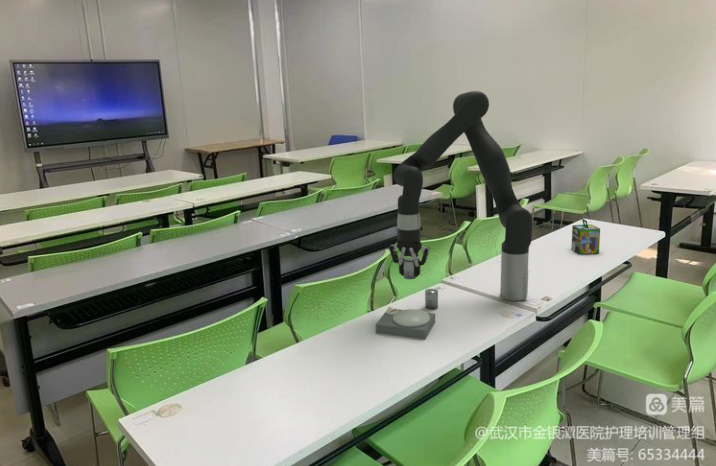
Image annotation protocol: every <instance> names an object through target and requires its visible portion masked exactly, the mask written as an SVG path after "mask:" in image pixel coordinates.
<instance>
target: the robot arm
mask: <svg viewBox="0 0 716 466" xmlns="http://www.w3.org/2000/svg"><path fill="white" fill-rule="evenodd" d="M489 101H490V100H489V97H488V96H487V95H486V94H485V93H484V92H482V91H480V90H473V91H468V92H463V93H460V94H459V95H457V96H456V97H455V98H454V100H453V102H452V103H453V104H452V110H453V114H454V115H453V116H452V117H451V118H450V119H449V120H448V121H447V122H446V123H445V124H444V125H442V126H441V127H440V128H438V129H437V130H436V131H434V133H432V134H431V135H429V137H428V138H426V140H424V141H423V143H422V144H421V146H419V148H418V149H417V150H416V151H415V152H414V153H413V154H411V155H409V156H408V157H406V158H405V160H403V161H402V162H400V164H399V165H398V166H397V167H396V168H395V170H394V172H393V180H394V182H395V183H396V184H397V185H398V186H400V187H402V195H401V194H400V195H399V196H398V197H397V223H396V227H397V242H396V244H391V245H390V246H389V247H388V249H389V253H390V255H391V258H392V259H391V260H392V262H393V263H394V264H397V265H398V272H399V273H398V274H400V276H402V277H403V259H406V258H407V257H409V258H413V260H414V263H415V277H416V278H418V277H419V276H420V275H421V266H424V265H425V264H426V263H427V260H428V256H429V252H430V250H431V248H430V247H429V246H424V245H423V244H422V242H421V215H420V198H421V195H422V190H423V184H424V177H423V173H422V171H423V170H426V169H430V168H431V167H432V166H433V165H434V164H435V163H436V162H437V161H438V160H439V159H440V158H441V157H442V156H443V154H444V153H445V152H446V151H447V150H448V149H449V148H450V147H451V146H452V144H453V143H455V142H456V141H457V140H458V138H459V137H460V136H461V137H462V135H463V134H464V135H465V137H466V139H467V141H468V143H469V146H470V149H471V151H472V153H473V156H474V158H475V161H476V164H477V165H478V168H479V170H480V174H481V176H482V177H483V180H484V182H485V184H486V186H487V188H488V190H489V192H490V195H491V196H492V199H493V201H494V203H495V207H496V208H495V209H496V211H497V215H498V218H499V221H500V224H501V225H502V227H503V228H505V233H504V234H505V235H504V241H503V242H501V255H500V259H501V261H500V287H499V288H500V289H499V293H500V297H501V299H503V300H505V301H511V302H519V301H520V302H521V301H527V298H528V293H529V292H528V290H529V289H528V288H529V255H530V254H529V251H530V246H531V244H532V236H533V222H534V221H533V216H532V214H531V212H530V211H529V210H528V209H526V208H524V207H523V206H522V205H521V204H520V202H519V200H518V198H517V196H516V194H515V192H514V189H513V185H512V176H511V169H510V166H509V162H508V159H507V158H506V155H505V153H504V151H503V149H502V147H500V144H498V142H497V141H496V140H495V138H493V137H492V135H491V134H490V133H489V132H488V130H487V129H486V128H485V125H484V123H483V120H482V118H483V117H485V116H486V114H487V113H488V110H489V108H490V102H489ZM397 250H399V252H400V256H399V255H398V252H397ZM420 251H421V253H422V257H421V258H420V254H419V252H420Z"/></svg>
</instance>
